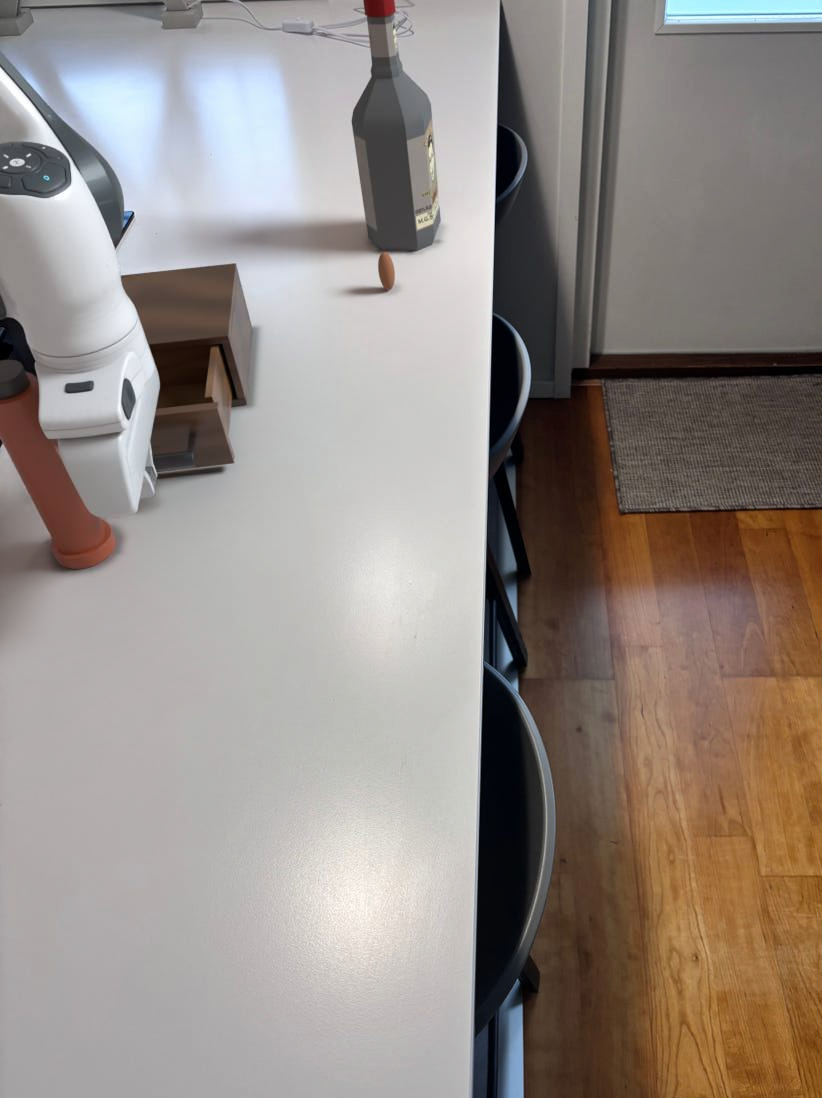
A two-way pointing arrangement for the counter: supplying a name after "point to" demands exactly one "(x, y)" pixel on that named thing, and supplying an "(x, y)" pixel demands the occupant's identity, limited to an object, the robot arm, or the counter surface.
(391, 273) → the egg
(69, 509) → the pepper mill
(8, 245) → the robot arm
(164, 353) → the drawer
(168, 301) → the cabinet
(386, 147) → the liquor
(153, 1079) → the counter surface
